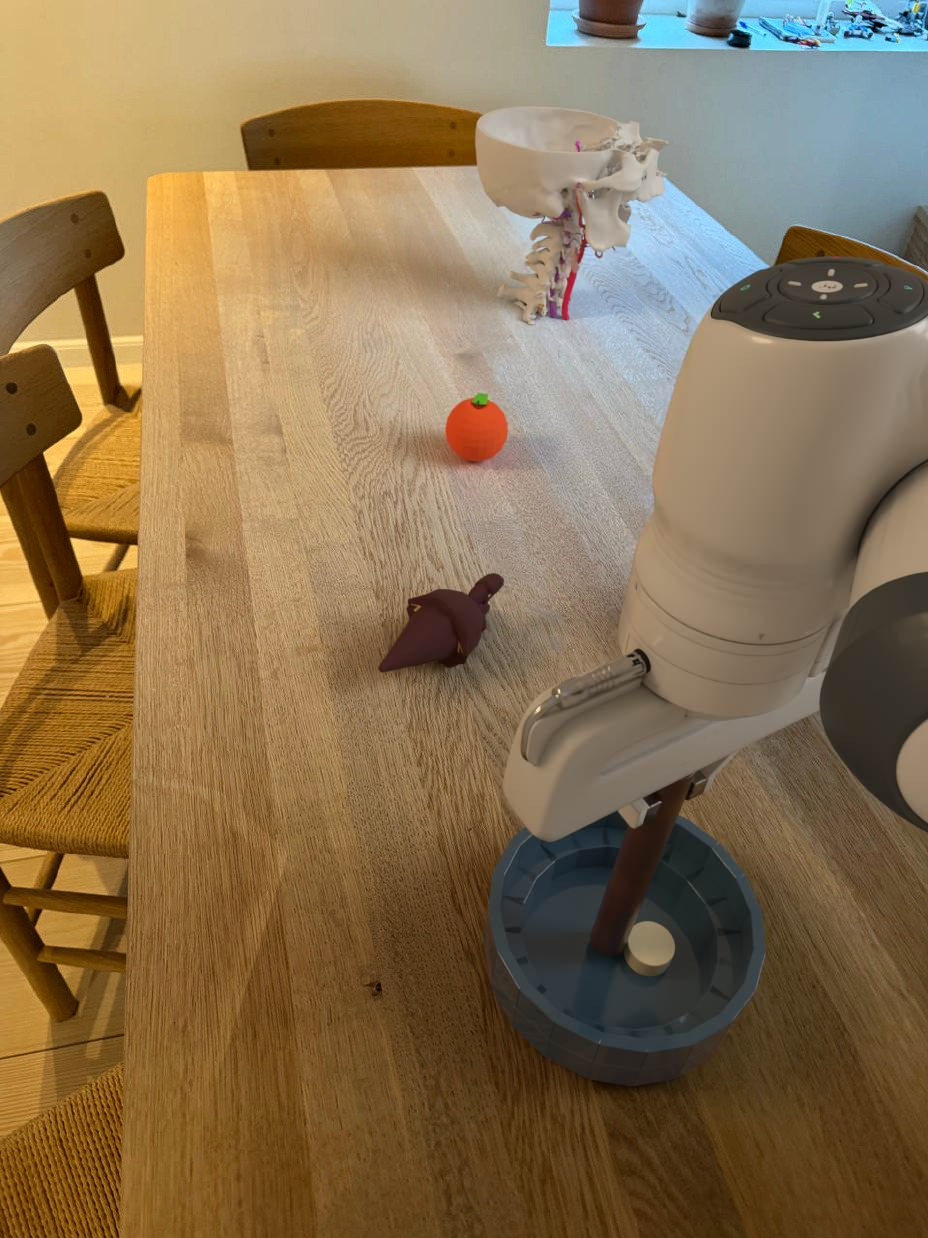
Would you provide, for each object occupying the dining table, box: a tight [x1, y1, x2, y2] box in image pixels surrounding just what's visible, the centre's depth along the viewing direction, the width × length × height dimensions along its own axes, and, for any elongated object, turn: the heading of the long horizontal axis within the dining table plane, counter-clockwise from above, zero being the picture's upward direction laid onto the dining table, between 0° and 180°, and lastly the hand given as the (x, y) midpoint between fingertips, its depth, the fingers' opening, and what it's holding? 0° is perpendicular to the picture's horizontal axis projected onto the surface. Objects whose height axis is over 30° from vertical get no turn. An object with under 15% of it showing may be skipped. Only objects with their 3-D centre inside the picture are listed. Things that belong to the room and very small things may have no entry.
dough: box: [624, 921, 675, 976], centre depth 64 cm, size 3×3×2 cm
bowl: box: [482, 810, 767, 1087], centre depth 63 cm, size 18×18×6 cm
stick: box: [590, 772, 696, 957], centre depth 57 cm, size 2×2×20 cm
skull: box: [474, 105, 669, 325], centre depth 129 cm, size 25×19×23 cm
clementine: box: [444, 392, 509, 462], centre depth 106 cm, size 8×7×7 cm
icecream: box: [377, 572, 505, 673], centre depth 83 cm, size 7×7×15 cm
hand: (662, 800), depth 53 cm, fingers closed on stick, 2 cm apart
